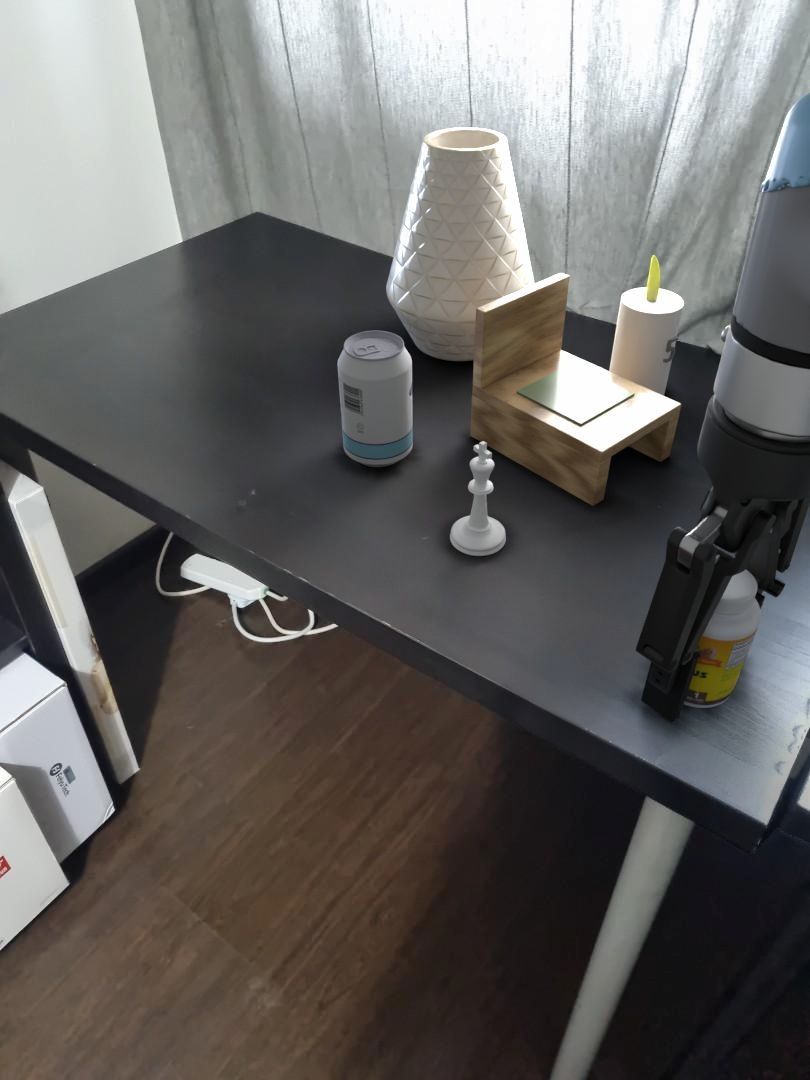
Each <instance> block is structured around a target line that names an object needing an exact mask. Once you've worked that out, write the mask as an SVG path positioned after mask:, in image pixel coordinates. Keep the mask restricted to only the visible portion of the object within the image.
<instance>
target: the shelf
mask: <svg viewBox="0 0 810 1080" xmlns="http://www.w3.org/2000/svg"><path fill="white" fill-rule="evenodd" d="M570 278H571V277H570V275H569V274H565V273H563V272H559V273H557V274H554V275H552V276H550V277H547V278H545V279H543V280H540V281H538V282H534V283H535V284H533V285H530V286H528V287H526V288H523V289H521V290H519V291H516V292H514V293H512V294H509V295H507V296H504V297H502V298H500V299H497V300H495V301H493V302H490V303H488V304H486V305H483V306H481V307H478V308H476V321H475V345H474V360H473V370H472V391H471V393H472V396H471V415H470V437H472V438H474V439H475V440H477V441H479V443H480V442H482V441H484V442H486V443H487V447H489V448H491V449H493V450H494V451H496V452H498V453H500V454H501V455H503V456H505V457H507V458H508V459H510V460H512V461H514V462H515V463H517V464H519V465H520V466H522V467H524V468H526V469H527V470H529V471H531V472H533V473H535V474H536V475H538V476H540V477H542V478H543V479H545V480H546V481H548V482H550V483H551V484H554V485H555V486H557V487H559V488H560V489H563V490H564V491H566V492H568V493H569V494H570V495H572V496H575V497H577V498H578V499H580V500H581V501H583V502H585V503H586V504H588V505H590V506H592V507H594V506H595V505H598V503H600V502H601V501H603V500H604V499H605V494H606V488H607V482H608V478H609V472H610V465H611V460H612V457H613V456H615V455H616V454H618V453H620V452H621V451H622V450H624V449H626V448H627V447H630V448H631V449H634V450H636V451H637V452H640V453H642V454H643V455H646V456H647V457H649V458H652V459H653V460H655V461H658V462H660V463H661V462H663V461H664V460H666V459H667V458H669V457H670V456H671V453H672V448H673V444H674V440H675V435H676V430H677V426H678V422H679V418H680V413H681V408H682V403H681V402H679V401H676V400H674V399H672V398H670V397H668V396H665V395H664V396H663V395H661V394H659V393H656V392H654V391H652V390H650V389H647V388H645V387H643V386H641V385H639V384H636V383H634V382H632V381H630V380H627V379H625V378H623V377H621V376H618V375H616V374H614V373H612V372H610V371H609V370H607V369H605V368H603V367H601V366H598V365H596V364H594V363H592V362H589V361H587V360H585V359H583V358H580V357H578V356H577V355H574V354H571V353H569V352H567V351H565V350H562V345H563V338H564V337H563V336H564V328H565V319H566V312H567V304H568V303H567V302H568V295H569V285H570Z"/></svg>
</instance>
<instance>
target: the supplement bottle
mask: <svg viewBox="0 0 810 1080" xmlns="http://www.w3.org/2000/svg"><path fill="white" fill-rule="evenodd" d="M756 593H757V582H756V580H755V578H754V577H753V575H752V574H751V573H750V572H749V571H747V570H746V569H745V570H744V571H743V572H741V573H739V574H736V575H734V576H732V578H731V580H730V582H729V584H728V586H727V588H726V590H725V592H724V594H723V596H722V598H721V600H720V602H719V604H718V606H717V608H716V610H715V612H714V613H713V615H712V617H711V619H710V621H709V623H708V625H707V627H706V629H705V631H704V633H703V635H702V637H701V639H700V641H699V643H698V645H697V647H696V649H695V651H694V652H696V653H697V654H699V658H698V662H697V665H696V668H695V671H694V674H693V677H692V680H691V683H690V686H689V689H688V692H687V695H686V698H685V701H684V704H683V706H684V705H685V706H688V707H692V708H696V709H708V708H713V707H717V706H719V705H721V704H724V703H725V702H726V701H727V700H728V699H729V698H730V697H731V695H732V694H733V692H734V690H735V688H736V685H737V682H738V680H739V676H740V674H741V672H742V669H743V667H744V665H745V662H746V660H747V657H748V655H749V652H750V650H751V647H752V644H753V641H754V639H755V636H756V634H757V631H758V629H759V626H760V623H761V619H762V611H761V610H762V609H761V610H760V606H759V604H758V602H757V600H756V599H755V596H756Z"/></svg>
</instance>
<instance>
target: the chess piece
mask: <svg viewBox="0 0 810 1080" xmlns="http://www.w3.org/2000/svg"><path fill="white" fill-rule="evenodd" d="M487 448H488V446H487V443H486V442H484V441H482V442H480V441H479V442H478V444H475V445H473V451H474V452H475V453H477V454H478V456H475V457H473V458H472V459H471V460H470V461H469V468H470V471H471V473H472V476H473V477H472V478H473V479H472V480H470V481H469V482H468V485H467V489H468V491H469V492H470V493H471V494H472V495H473V500H472V506H471V510H470V514H469V515H466V516H463V517H461V518H459V519H458V520H456V521H455V522H454V523H453V524H452V526H451V529H450V533H449V540H450V543H451V545H452V546H453V548H455V549H456V550H458V551H459V552H461V553H463V554H465V555H468V556H474V557H483V556H484V557H485V556H491V555H493V554H495V553H498V552H499V551H500V550H501V549H502V548H503V547H504V545H505V544H506V541H507V536H506V529H505V527H504V525H503V524H502V523H501V522H500V521H499V520H497V519H495V518H494V517H491V516H489V514H488V502H487V495H489V494H491V493H492V492H493V491H494V485H493V484H494V483H493V482H492V481H491V480H489V479H490V476H491V473H492V472H493V470H494V469H495V461H494V460H493V459H492V458H493V452H492V451H490V450H488V449H487Z"/></svg>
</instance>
